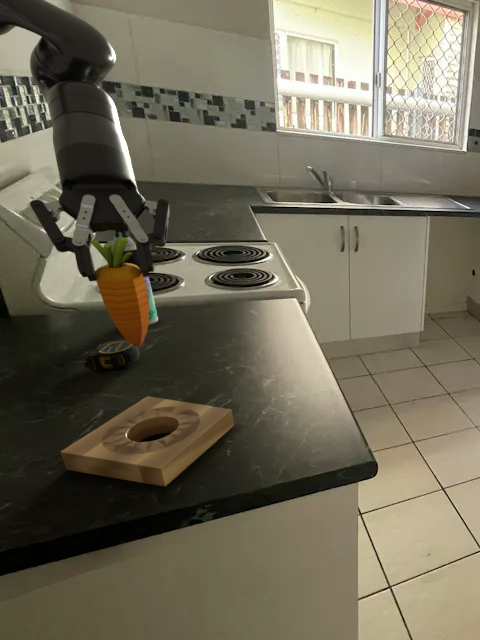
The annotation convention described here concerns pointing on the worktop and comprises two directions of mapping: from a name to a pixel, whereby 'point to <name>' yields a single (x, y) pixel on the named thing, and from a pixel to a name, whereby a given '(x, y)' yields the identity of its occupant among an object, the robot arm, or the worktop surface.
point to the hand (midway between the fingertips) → (119, 275)
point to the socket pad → (149, 457)
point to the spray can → (135, 260)
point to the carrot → (123, 291)
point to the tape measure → (112, 355)
